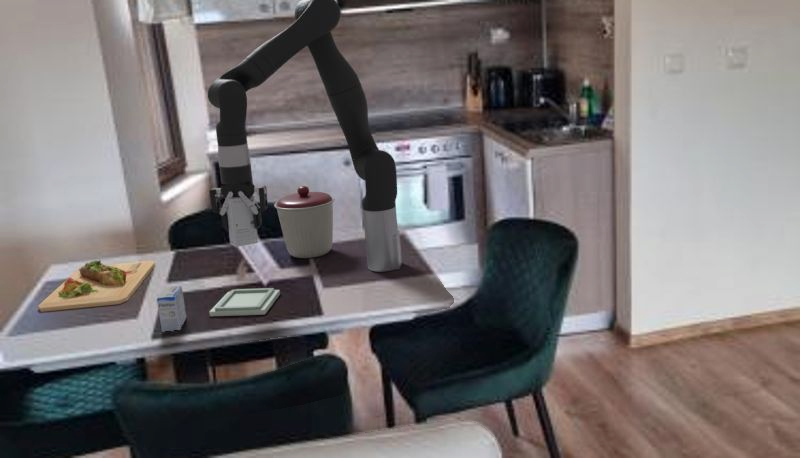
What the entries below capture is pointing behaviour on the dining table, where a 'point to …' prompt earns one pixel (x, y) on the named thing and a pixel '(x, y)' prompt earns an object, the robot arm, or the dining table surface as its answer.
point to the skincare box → (241, 222)
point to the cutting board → (98, 285)
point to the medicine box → (171, 308)
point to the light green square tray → (245, 302)
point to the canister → (306, 222)
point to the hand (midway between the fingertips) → (242, 228)
